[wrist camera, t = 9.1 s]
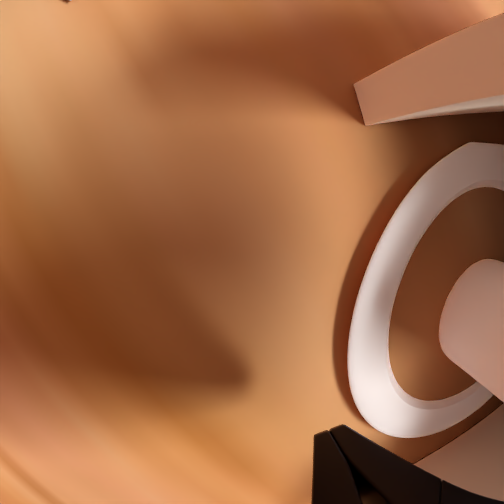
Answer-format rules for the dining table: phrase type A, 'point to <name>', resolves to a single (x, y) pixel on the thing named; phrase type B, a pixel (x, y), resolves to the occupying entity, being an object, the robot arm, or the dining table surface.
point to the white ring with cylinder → (453, 315)
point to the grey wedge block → (440, 104)
